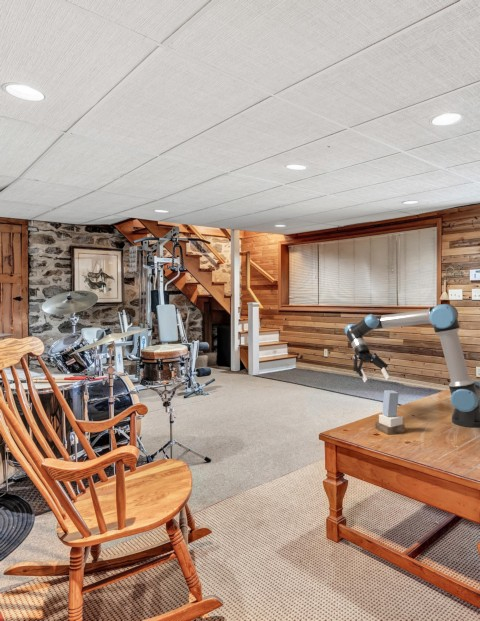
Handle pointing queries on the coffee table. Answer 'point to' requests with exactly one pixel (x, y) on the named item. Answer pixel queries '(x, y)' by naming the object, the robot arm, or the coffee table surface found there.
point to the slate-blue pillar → (390, 403)
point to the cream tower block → (391, 420)
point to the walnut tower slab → (389, 428)
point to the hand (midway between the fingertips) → (377, 380)
